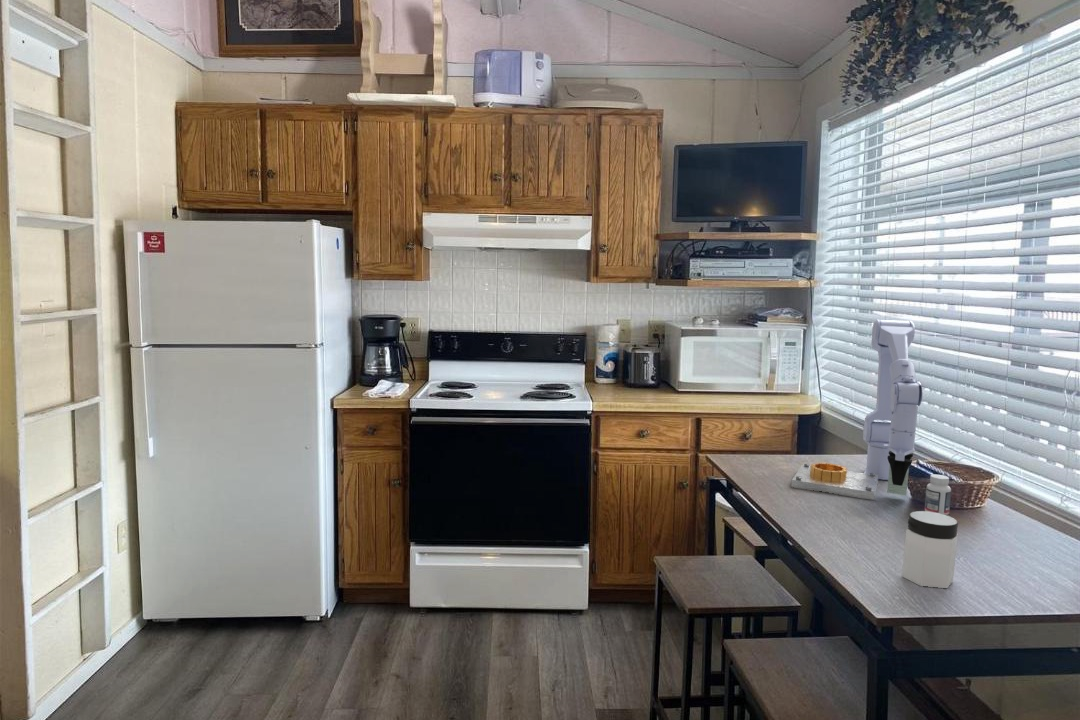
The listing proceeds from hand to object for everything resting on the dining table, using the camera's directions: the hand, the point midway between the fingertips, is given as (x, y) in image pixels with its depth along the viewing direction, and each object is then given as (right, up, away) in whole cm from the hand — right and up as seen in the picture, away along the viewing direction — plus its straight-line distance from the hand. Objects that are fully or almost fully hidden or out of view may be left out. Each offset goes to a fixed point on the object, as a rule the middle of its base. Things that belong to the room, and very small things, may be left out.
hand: (897, 482), depth 189 cm
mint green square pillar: (0, -2, 0) cm, 2 cm away
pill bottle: (+5, -6, -9) cm, 12 cm away
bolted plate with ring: (-11, -3, +12) cm, 16 cm away
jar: (-18, -11, -49) cm, 53 cm away
